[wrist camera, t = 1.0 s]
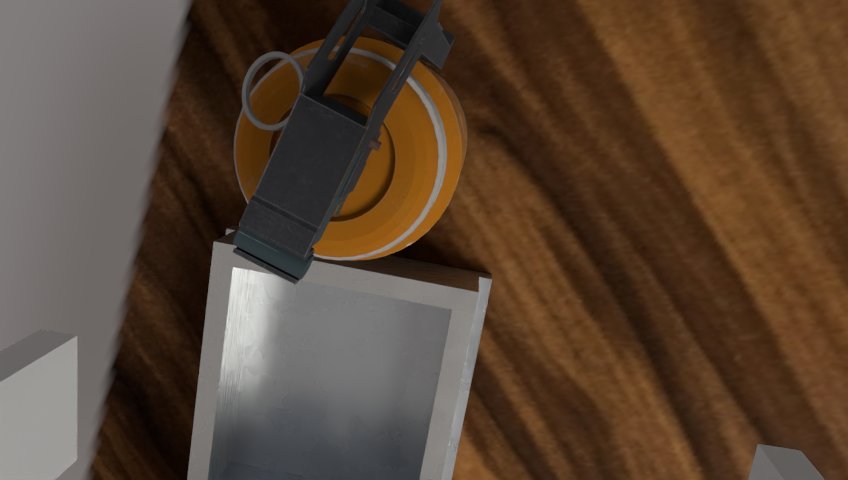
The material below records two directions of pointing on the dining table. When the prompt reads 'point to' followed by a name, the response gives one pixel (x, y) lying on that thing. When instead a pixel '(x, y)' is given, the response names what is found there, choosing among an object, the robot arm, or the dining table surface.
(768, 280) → the dining table surface
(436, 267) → the grey holder tray
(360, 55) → the canister
